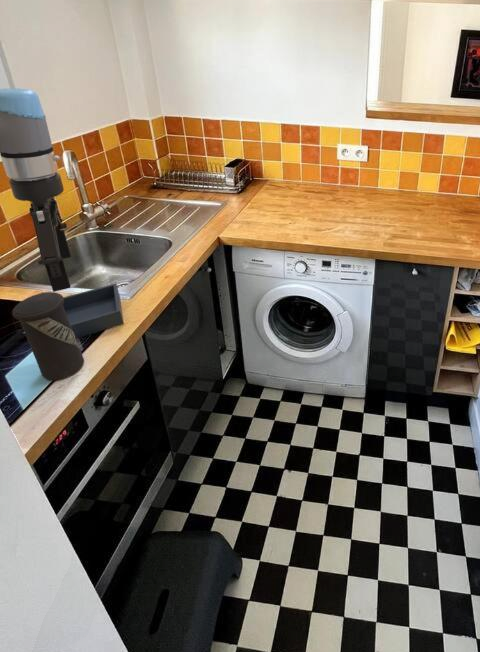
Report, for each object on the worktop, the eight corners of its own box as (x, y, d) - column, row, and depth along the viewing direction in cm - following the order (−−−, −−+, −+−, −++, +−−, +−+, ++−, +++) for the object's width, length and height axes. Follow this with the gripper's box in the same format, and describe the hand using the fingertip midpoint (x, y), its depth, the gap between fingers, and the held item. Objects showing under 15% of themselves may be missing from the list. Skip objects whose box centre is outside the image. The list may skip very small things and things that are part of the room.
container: (69, 383, 89) (42, 314, 81) (31, 381, 89) (-1, 313, 81) (94, 354, 97) (71, 289, 88) (58, 353, 97) (32, 288, 89)
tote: (58, 344, 100) (53, 330, 98) (61, 311, 111) (56, 299, 109) (123, 323, 107) (120, 310, 105) (119, 295, 118) (116, 283, 116)
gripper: (57, 193, 65) (85, 298, 73) (61, 156, 84) (83, 243, 92) (-2, 200, 61) (35, 310, 69) (16, 160, 80) (43, 251, 88)
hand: (62, 272), depth 81 cm, fingers open, 13 cm apart
